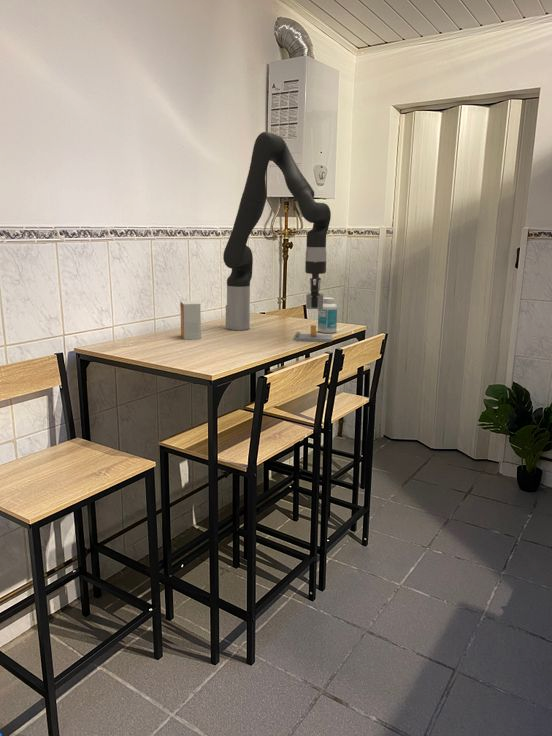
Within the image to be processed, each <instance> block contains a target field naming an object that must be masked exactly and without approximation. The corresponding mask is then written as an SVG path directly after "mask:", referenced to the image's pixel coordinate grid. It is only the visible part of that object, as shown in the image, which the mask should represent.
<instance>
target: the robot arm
mask: <svg viewBox="0 0 552 736" xmlns="http://www.w3.org/2000/svg"><path fill="white" fill-rule="evenodd" d="M270 161H271V162H273V163H274V164H275V165H276V166H277V168H279V170H280V171H281V172H282V174H283V178H284V181H285V184H286V187H287V189H288V191H289V192H290V194H291V195H292V196H293V198H294V200H295V201H296V202H297V205H298V208H299V211H300V213H301V215H302V217H303V219H304V220H305V221H306V222H308V223H310V224H312V228H311V230H309V231H307V233H306V249H305V258H304V259H305V263H304V265H305V266H304V271H305V273H306V274H309V275H311V277H310V278H309V284H310V286H309V291H310V293H311V297H312V299H311V307H312V308H317V305H318V293H319V294H320V292H321V291H320V289H321V283H322V278H321V277H320V274H321V275H323V274H326V273H327V235H328V231H329V226H330V222H331V218H332V217H331V216H332V215H331V214H332V212H331V209H330V206H329V205H328V204H326V203H324V202H316V201H315V191H314V189H313V187H312V186H311V184H310V183H309V182H308V181H307V179H306V177H305V176H304V175H303V173H302V172H301V170H300V169H299V166H298V165H297V164H296V161H295V160H294V156H293V155H292V154H291V151H290V150H289V147H288V145H287V143H286V142H285V139H283V137H282V136H280V135H277V134H275V133H272V132H267V131H263V132H260V133H259V134H258V136H257V137H256V138H255V141H254V144H253V148H252V154H251V159H250V163H249V170H248V173H247V177H246V181H245V184H244V189H243V192H242V194H241V197H240V202H239V206H238V208H237V209H238V210H237V212H236V215H235V218H234V219H235V220H234V222H233V227H232V230H231V233H230V236H229V237H228V240H227V243H226V245H225V248H224V251H223V255H222V256H223V258H222V259H223V263H224V264H225V266H226V267H227V268H229V269H231V272H230V275H229V276H228V277H227V279H226V304H225V330H232V331H241V330H242V331H244V330H245V331H246V330H250V326H251V325H250V324H251V323H250V317H251V315H250V314H251V309H250V308H251V307H250V306H251V304H250V302H251V280H252V277H253V265H254V264H253V262H254V257H253V252H252V251H253V250H252V249H251V248H250V247H249V245H247V244H248V239H249V237H250V235H251V234H252V231H253V230H254V229H255V227H256V226H257V224H258V222H259V221H260V219H261V217H262V215H263V212H264V209H265V206H266V203H267V199H268V197H267V194H268V193H267V182H266V175H267V169H268V166H269V163H270Z"/></svg>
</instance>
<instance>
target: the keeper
mask: <svg viewBox="0 0 552 736" xmlns="http://www.w3.org/2000/svg"><path fill="white" fill-rule="evenodd" d="M293 340H299V342H301V341H300V340H304V341H303V342H318V343H319V342H321V343H323V342H324V343H332V342H333V335H332V334H324V333H323V334H320V333H318V334H317V325H315V324H313V325H310V333H301V332H300V331H296V333H294V336H293Z"/></svg>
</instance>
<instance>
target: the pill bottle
mask: <svg viewBox="0 0 552 736" xmlns="http://www.w3.org/2000/svg"><path fill="white" fill-rule="evenodd" d="M334 302H335V298H334V297H323V309H317V310H318V312H317V313H318V315H317V316H318V317H317V331H318V332H319V333H323V334H334V333H336V332H337V329H338V327H337V326H338V325H337V323H338V306H337V303H334Z"/></svg>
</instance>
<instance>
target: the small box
mask: <svg viewBox="0 0 552 736" xmlns="http://www.w3.org/2000/svg"><path fill="white" fill-rule="evenodd" d="M179 303H180V304H179V305H180V309H179V310H180V336H181V337H182V338H183V340H201V339H202V325H201V323H202V322H201V321H202V319H201V315H202V314H201V312H202V311H201V303H200V302H198V301H197V300H182V301H181V300H180V302H179Z"/></svg>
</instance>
